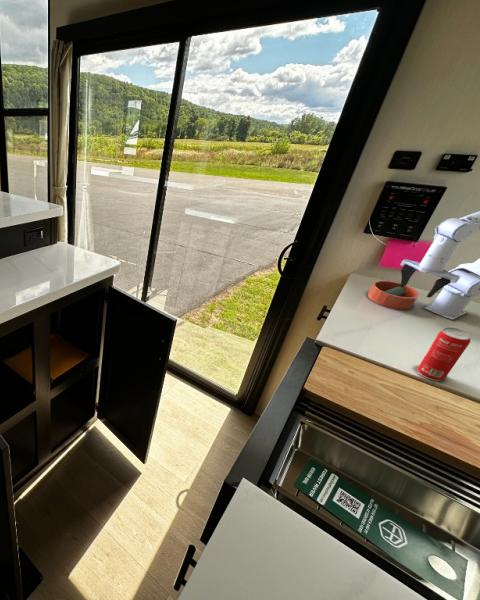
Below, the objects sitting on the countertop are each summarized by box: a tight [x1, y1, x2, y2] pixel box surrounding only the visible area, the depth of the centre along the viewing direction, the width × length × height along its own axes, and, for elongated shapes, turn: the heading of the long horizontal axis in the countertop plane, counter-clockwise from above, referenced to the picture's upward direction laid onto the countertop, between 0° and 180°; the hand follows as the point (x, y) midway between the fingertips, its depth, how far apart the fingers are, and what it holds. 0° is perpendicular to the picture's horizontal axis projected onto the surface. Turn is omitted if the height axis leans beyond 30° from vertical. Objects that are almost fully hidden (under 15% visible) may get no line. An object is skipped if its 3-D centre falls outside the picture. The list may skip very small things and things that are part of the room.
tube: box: [385, 287, 406, 297], centre depth 122 cm, size 9×4×4 cm, turn 114°
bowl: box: [367, 279, 420, 310], centre depth 122 cm, size 13×13×5 cm
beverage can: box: [416, 327, 472, 382], centre depth 87 cm, size 6×6×15 cm
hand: (415, 291), depth 111 cm, fingers open, 7 cm apart
